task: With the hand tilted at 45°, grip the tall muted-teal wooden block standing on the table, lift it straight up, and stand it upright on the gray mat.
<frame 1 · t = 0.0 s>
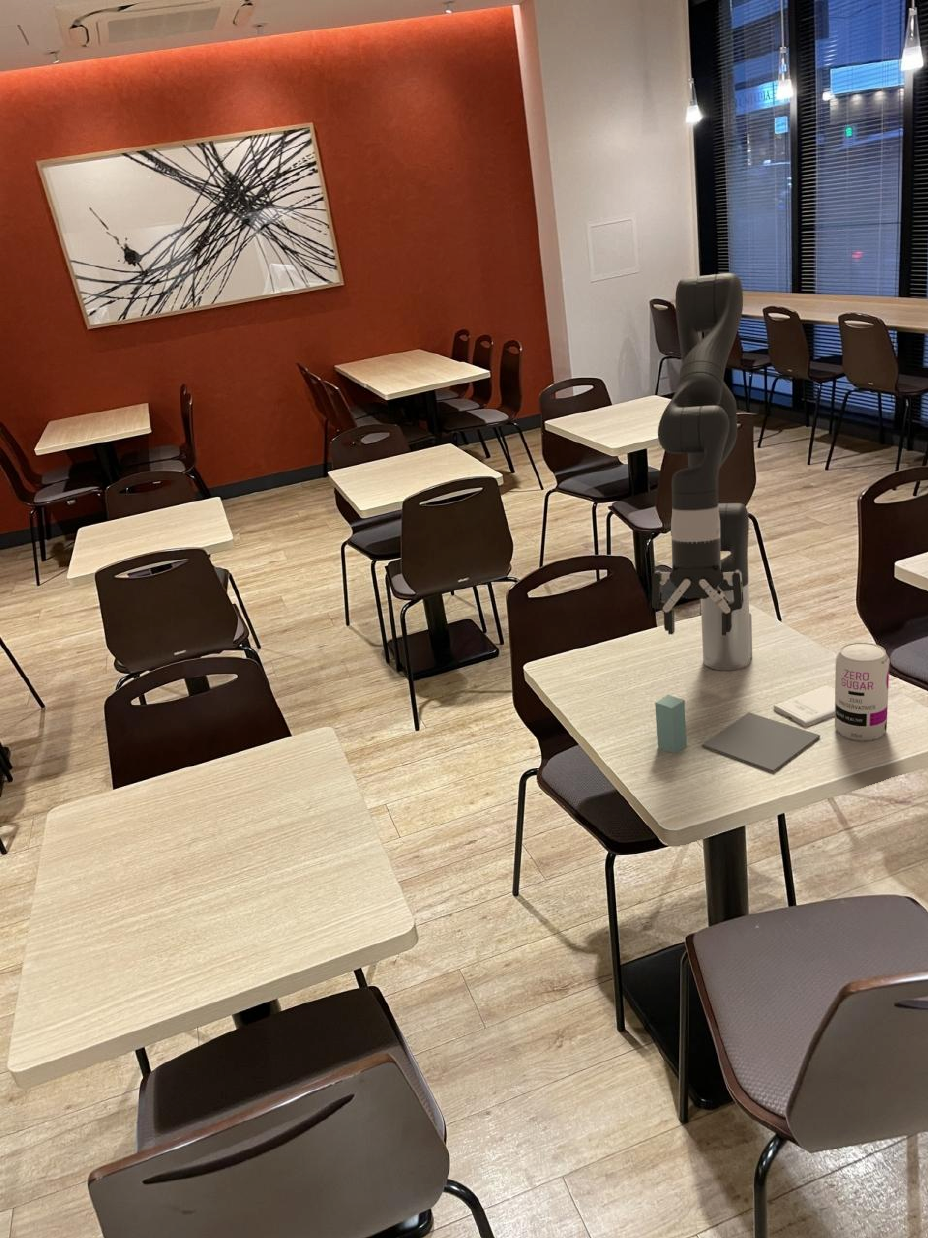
hand: (697, 633, 153), 22 cm above the table, tool pointing down, fingers open, 8 cm apart
supplement can: (860, 731, 161), on the table
teal block: (672, 746, 164), on the table
external hard drive: (816, 710, 170), on the table
gray mat: (760, 742, 162), on the table
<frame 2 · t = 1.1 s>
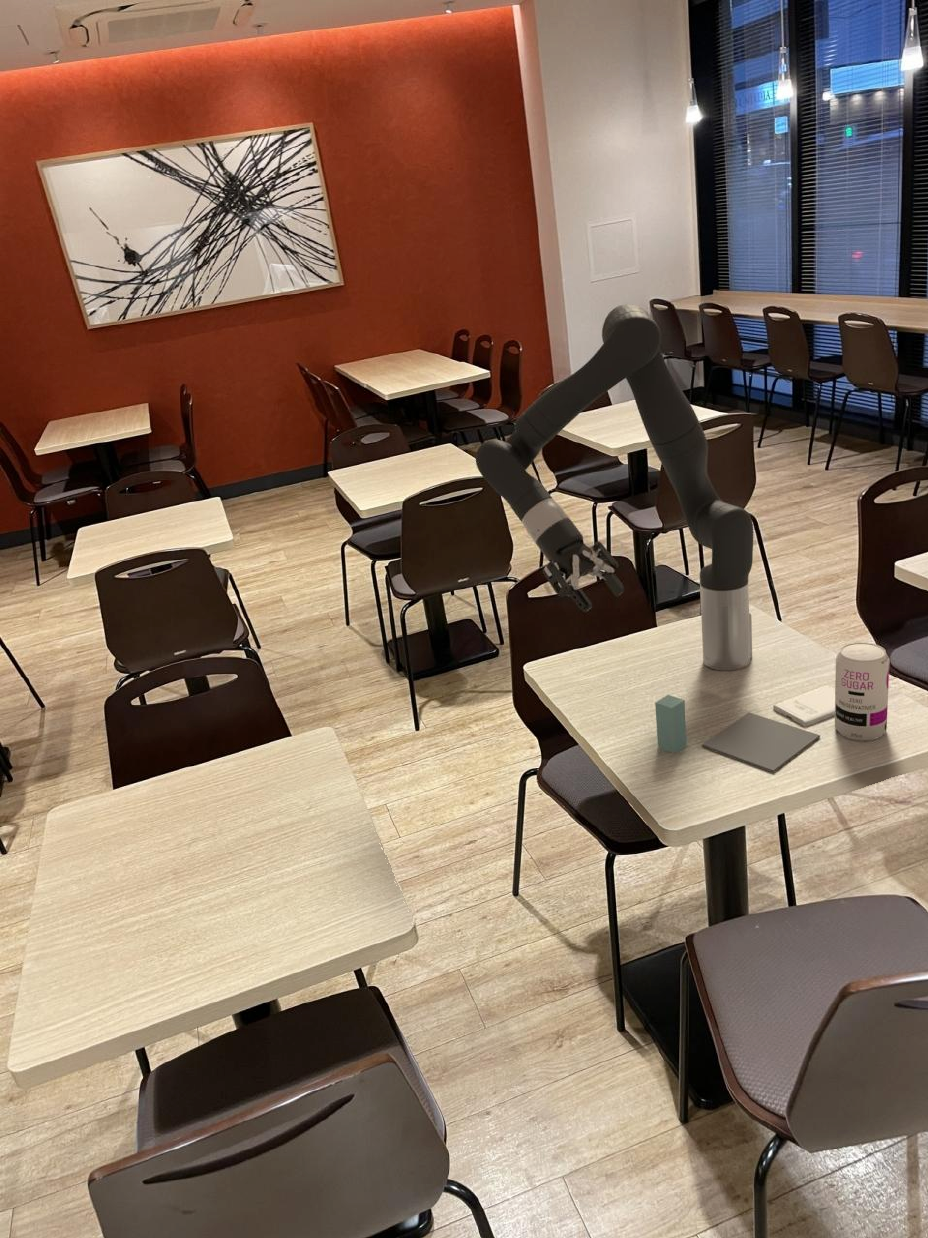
hand: (605, 601, 164), 25 cm above the table, tool tilted 45°, fingers open, 8 cm apart
nothing on the table moved.
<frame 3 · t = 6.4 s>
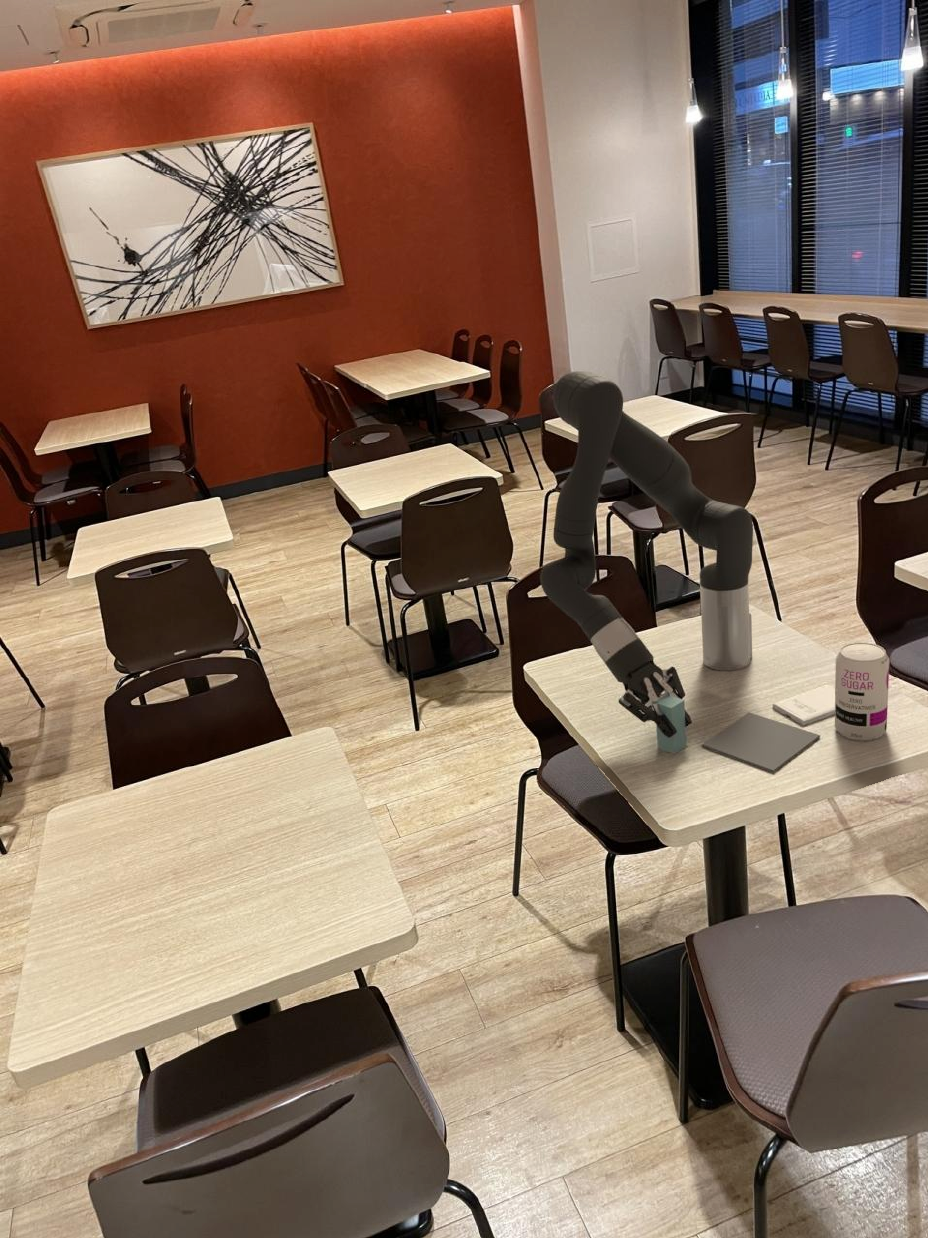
hand: (680, 729, 161), 4 cm above the table, tool tilted 45°, fingers closed on teal block, 3 cm apart
teal block: (672, 746, 164), on the table, touching gripper
everything else where it was.
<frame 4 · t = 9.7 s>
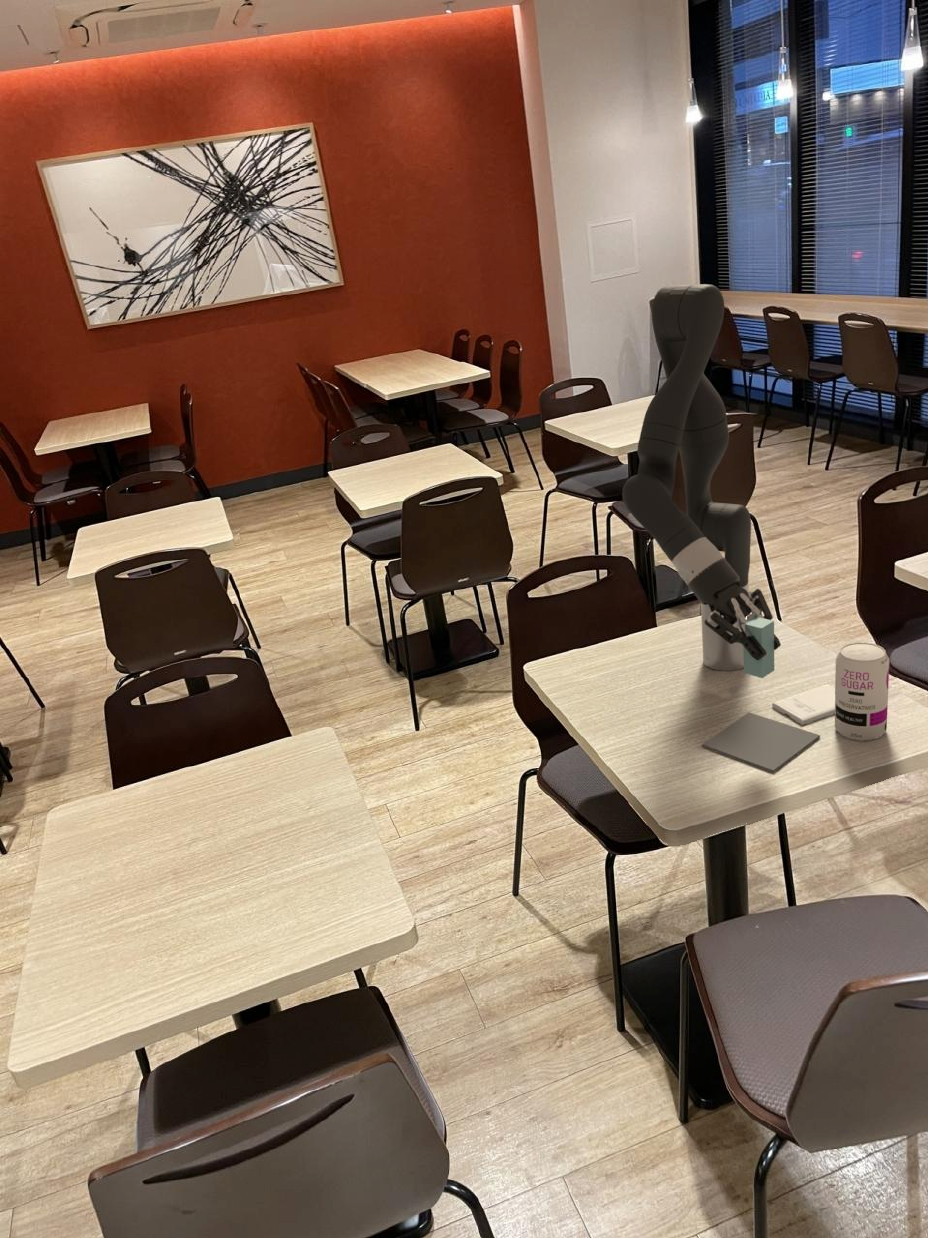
hand: (769, 652, 154), 18 cm above the table, tool tilted 45°, fingers closed on teal block, 3 cm apart
teal block: (759, 671, 157), point 14 cm above the table, touching gripper
everything else where it was.
when the fingers open (6 cm above the table, at t = 13.0 s): teal block drops 1 cm, resting on gray mat.
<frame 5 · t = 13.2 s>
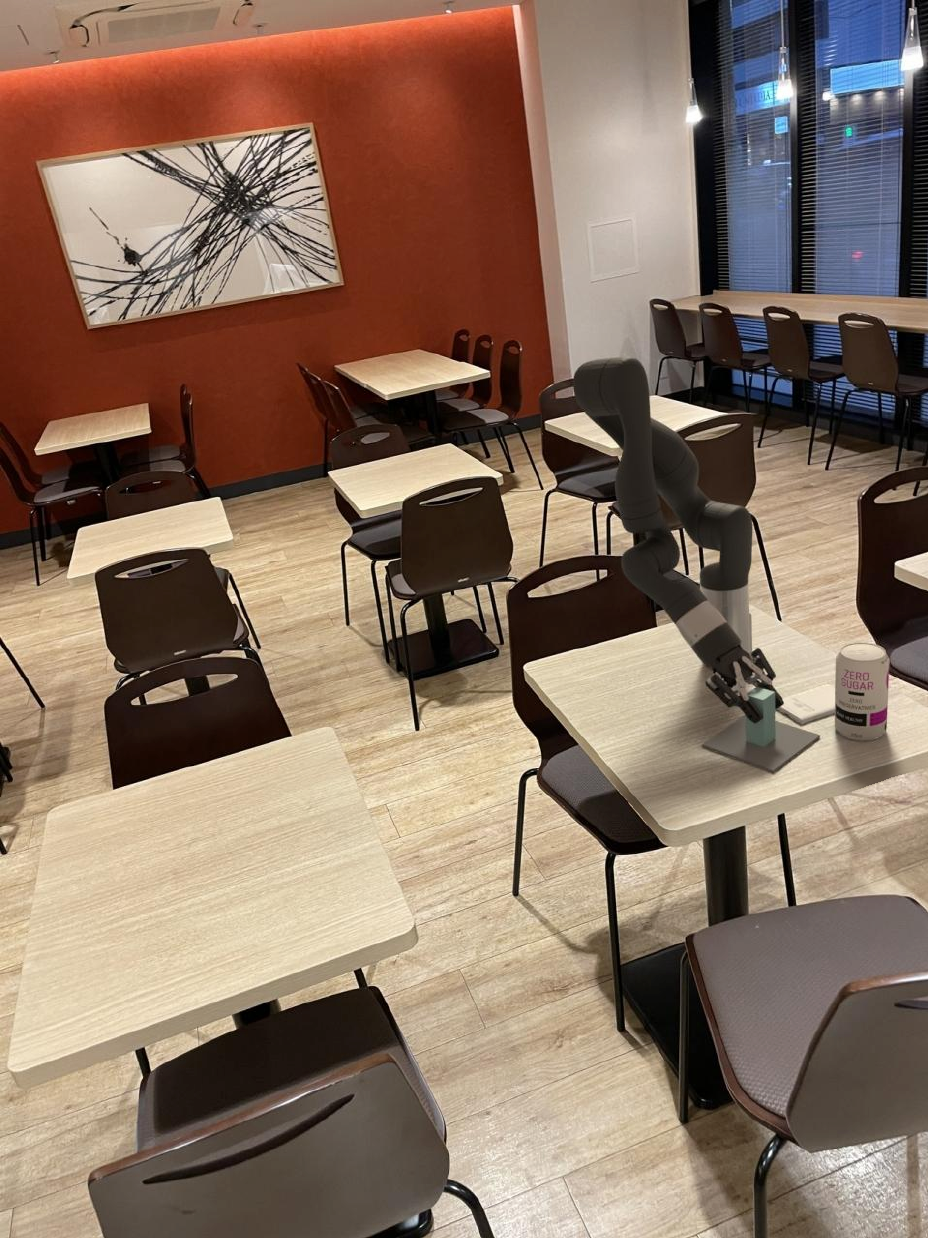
hand: (769, 713, 158), 6 cm above the table, tool tilted 45°, fingers open, 5 cm apart
teal block: (760, 739, 161), resting on gray mat
everything else where it was.
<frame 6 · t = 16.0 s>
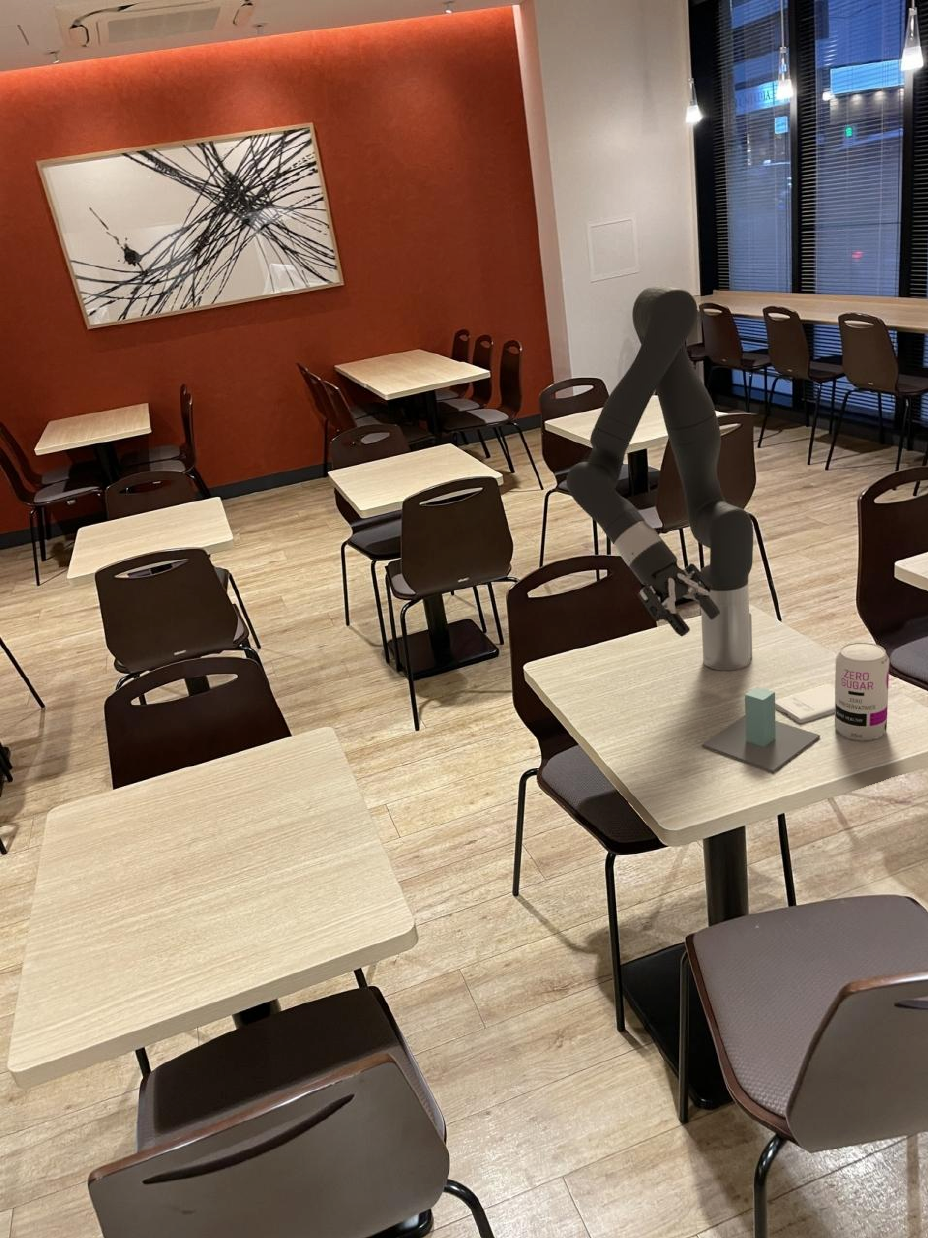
hand: (701, 625, 163), 19 cm above the table, tool tilted 45°, fingers open, 8 cm apart
nothing on the table moved.
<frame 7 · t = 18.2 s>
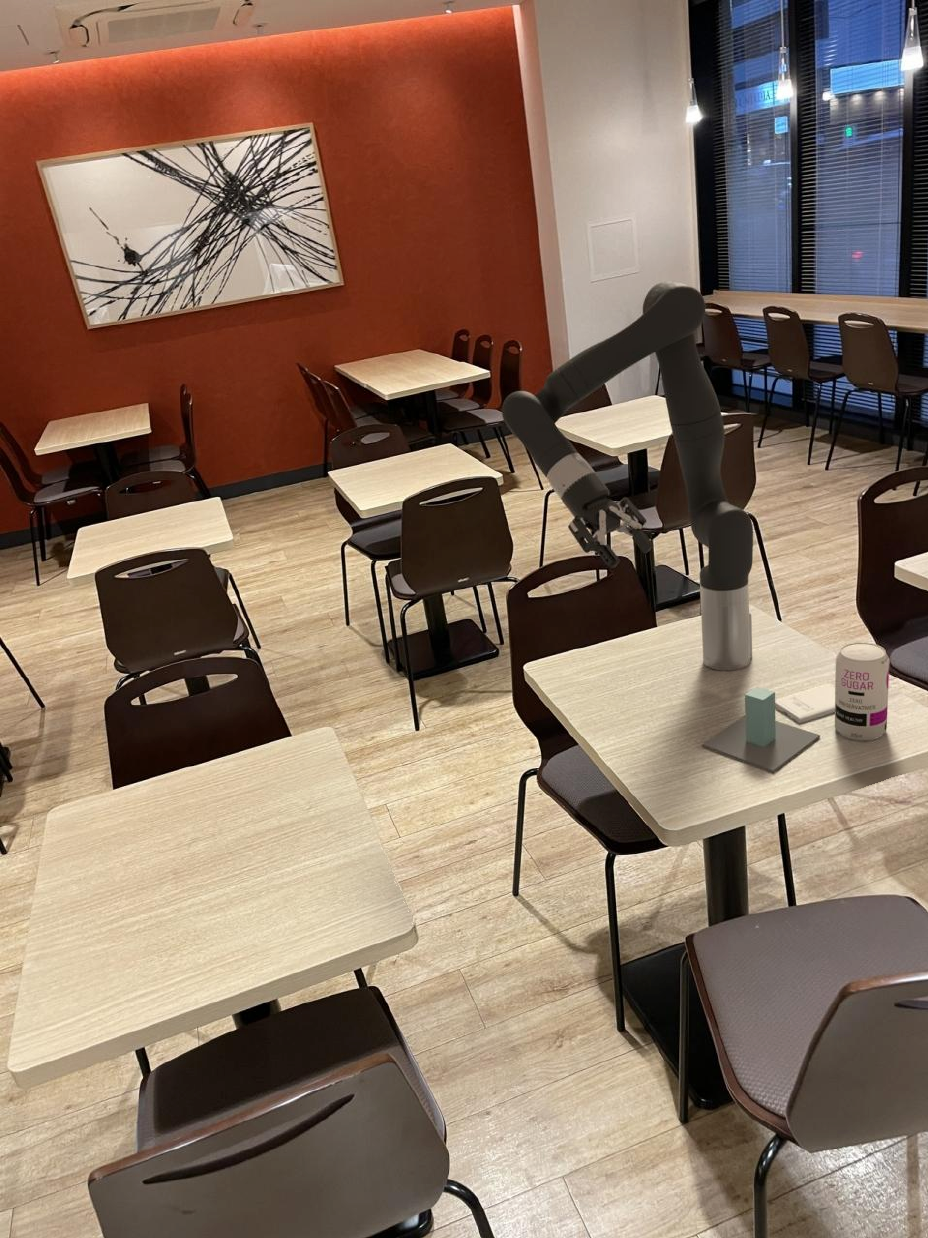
hand: (632, 557, 160), 33 cm above the table, tool tilted 45°, fingers open, 8 cm apart
at the end: teal block inside the target area on the gray mat (0.1 cm from its centre), point 0.5 cm above the gray mat's base; teal block tilted 0°; the gripper is holding nothing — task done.
